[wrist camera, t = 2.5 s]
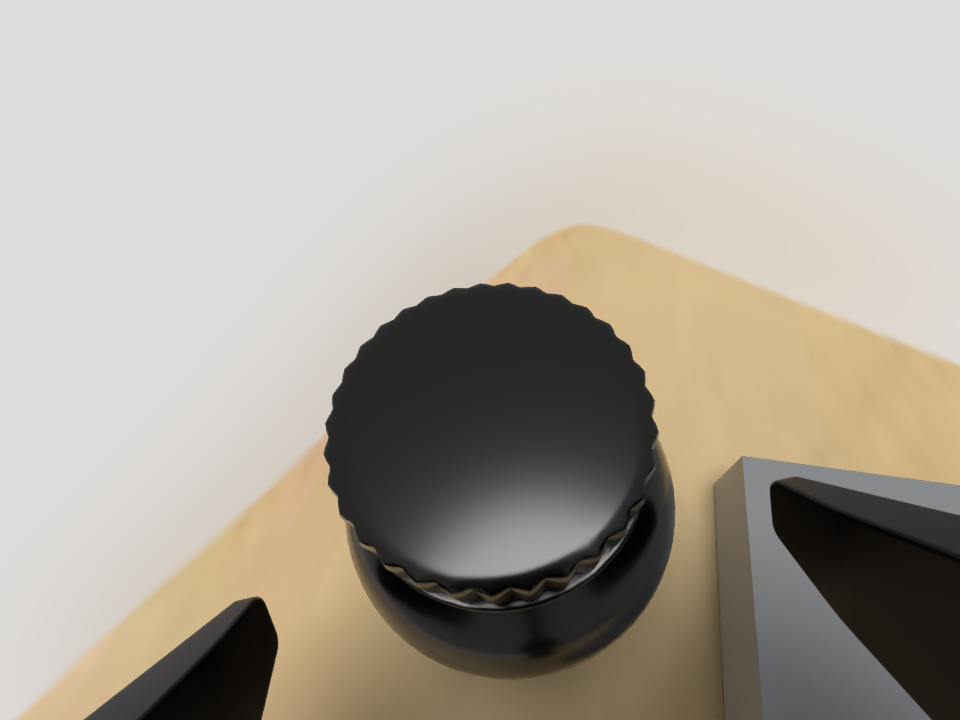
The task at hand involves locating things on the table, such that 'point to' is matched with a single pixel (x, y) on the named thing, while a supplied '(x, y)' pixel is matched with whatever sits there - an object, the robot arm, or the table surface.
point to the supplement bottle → (501, 480)
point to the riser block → (797, 607)
